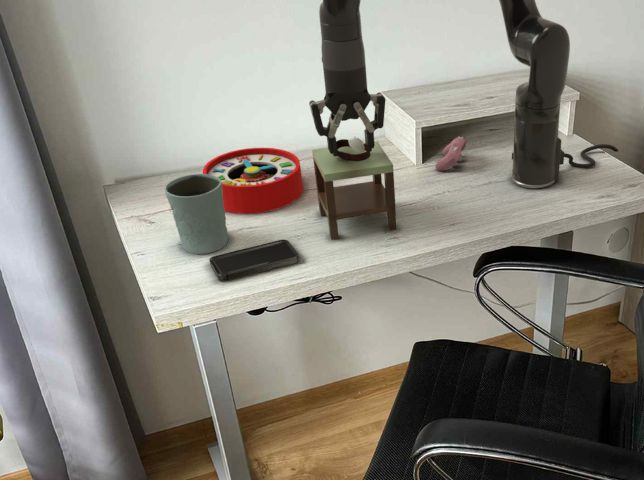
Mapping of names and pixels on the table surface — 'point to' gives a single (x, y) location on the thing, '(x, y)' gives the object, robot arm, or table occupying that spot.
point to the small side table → (354, 186)
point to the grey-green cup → (198, 212)
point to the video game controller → (451, 154)
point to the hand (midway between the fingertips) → (352, 152)
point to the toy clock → (257, 179)
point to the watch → (356, 146)
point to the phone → (253, 260)
